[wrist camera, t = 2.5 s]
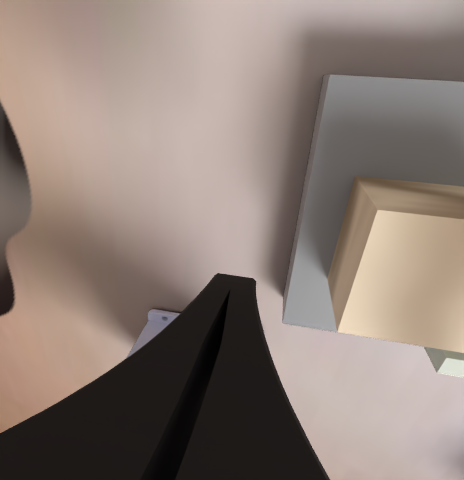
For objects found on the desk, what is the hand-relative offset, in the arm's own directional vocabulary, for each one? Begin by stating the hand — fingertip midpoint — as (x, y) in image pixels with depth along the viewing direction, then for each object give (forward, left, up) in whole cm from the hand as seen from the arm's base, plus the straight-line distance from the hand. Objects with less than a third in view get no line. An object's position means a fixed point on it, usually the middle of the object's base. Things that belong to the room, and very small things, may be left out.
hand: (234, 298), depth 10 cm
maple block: (+7, 0, -6) cm, 10 cm away
